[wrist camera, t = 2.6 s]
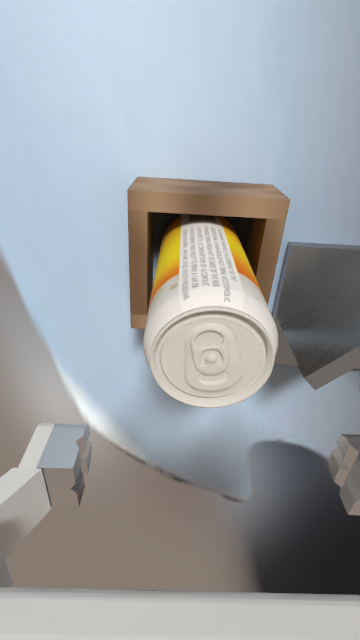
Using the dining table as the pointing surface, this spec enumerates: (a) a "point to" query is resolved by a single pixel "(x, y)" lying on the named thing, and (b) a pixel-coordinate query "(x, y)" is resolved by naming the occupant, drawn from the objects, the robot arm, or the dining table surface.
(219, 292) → the beer can
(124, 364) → the dining table surface
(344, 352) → the V-block
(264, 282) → the walnut sleeve
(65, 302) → the dining table surface
